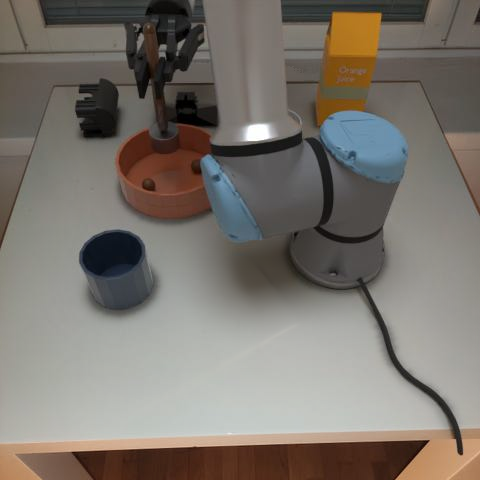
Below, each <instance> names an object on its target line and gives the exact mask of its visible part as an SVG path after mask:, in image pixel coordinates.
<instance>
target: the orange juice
mask: <svg viewBox="0 0 480 480" xmlns="http://www.w3.org/2000/svg"><path fill="white" fill-rule="evenodd" d="M382 14H383V12H382V11H381V12H380V11H379V12H376V11H374V12H373V11H371V12H370V11H332V14H331V17H330V21H329V23H328V27H327V30H326V33H325V38H324V44H323V52H322V59H321V65H320V68H319V69H320V71H319V77H318V84H317V92H316V97H315V104H314V105H315V114H316V115H315V116H316V123H317V125H316V126H317V127H321V126H322V125H323V122H324V121H325V120H327V118H328V117H329V116H330V115H332V114H334V113H337V112H341V111H361V112H365V108H366V107H365V106H366V102H367V100H368V95H369V92H370V87H371V82H372V79H373V74H374V70H375V67H376V62H377V58H378V49H379V40H380V32H381V25H382V24H381V22H382Z"/></svg>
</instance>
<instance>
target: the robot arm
mask: <svg viewBox="0 0 480 480" xmlns="http://www.w3.org/2000/svg"><path fill="white" fill-rule="evenodd" d="M201 1H202V8H203V15H204V16H203V17H204V23H205V25H204V24H203V23H198V24H196V25H195V26H193V24H192V21H193V15H194V11H195V7H196V3H197V0H148V2H147V6H146V9H145V13H144V17H143V18H141V19H140V21H139V24H136V23H133V22H131V21H129V20H126V21H124V22H123V26H124V33H125V38H126V43H125V56H126V61H127V66H128V69H129V70H133V74H134V75H133V76H134V79H135V82H136V83H135V84H136V88H137V93H138V98H139V99H140V100H145V98H146V95H147V91H148V87H149V84H150V81H151V80H150V74H149V68H148V61H147V55H146V48H145V42H144V40H143V41H142V43H141V45H140V47H139V49H138V42H139V40H140V39H139V37H140V36H141V34H142V35H143V27H144V25H145V24H147V23H150V24H152V25H153V26H154V27H155V29H156V36H157V44H158V51H159V49H160V47H161V46H162V45H166V48H165V50H164V53H165V56H159V59H160V60H159V63H158V67H157V71H156V74H155V78H154V88H155V94H156V99H162V95H163V91H164V92H165V86H166V83H172V82H173V79H174V74H175V73H176V71H177V70H179V71H180V72H187V71H188V70H189V68H190V66H191V64H192V61H193V59H194V57H195V55H196V53H197V51H198V49H199V47H200V46H202V45H203V44H204V43H205V42H206V40H205V30H206V37H207V44H208V52H209V60H210V64H211V65H210V67H211V72H212V73H211V74H212V81H213V88H214V94H215V95H214V96H215V101H216V102H215V103H216V105H217V110H218V113H217V118H218V123H217V127H215V128H216V129H215V130H214V131H213V133H211V134H212V136H211V137H210V139H209V140H210V147H211V155H210V154H208V155H206V156H205V157H203V158H202V159H201V161H200V166H201V170H202V177H203V182H204V185H205V189H206V192H207V195H208V198H209V201H210V204H211V207H212V209H211V210H212V213H213V215H214V217H215V220H216V222H217V224H218V227H219V229H220V230H221V232H222V234H223V235H224V236H225V237H226V238H227V239H228V240H229V241H231V242H234V243H243V242H250V241H256V240H257V241H263V240H264V239H266V238H267V239H268V238H272V237H276V236H280V235H285V234H290V233H292V235H291V240H290V244H289V245H290V246H289V255H290V258H291V261H292V264H293V265H294V267H295V268H296V270H297V271H298V272H299V273H300V274H301V275H302V276H303V277H305V278H306V279H307V280H308V281H311V282H312V283H314V284H316V285H318V286H321V287H324V288H329V289H330V288H331V289H335V290H336V289H337V290H345V289H346V290H347V289H354V288H358V287H361V289H362V291H363V293H364V295H365V297H366V299H367V301H368V303H369V306H370V307H371V310H372V311H373V313H374V315H375V316H376V319H377V322H378V323H379V326H380V329H381V331H382V334H383V338H384V341H385V344H386V348H387V352H388V354H389V356H390V358H391V360H392V362H393V364H394V366H395V367H396V368H397V369H398V371H399V372H400V373H401V374H402V375H403V376H404V377H405V378H406V379H407V380H409V381H410V382H411V383H413V384H414V385H416V387H419V388H421V389H422V390H423V391H424V392H426V393H427V394H429V395H430V396H431V397H432V398H433V399H435V400H436V402H437V403H438V404H439V405H440V406H441V408H442V409H443V410H444V412H445V414H446V415H447V417H448V419H449V420H450V423H451V426H452V429H453V432H454V433H453V434H454V437H455V438H454V439H455V442H456V451H457V452H456V453H457V454H458V455H459V456H463V455H464V444H463V438H462V433H461V430H460V426H459V423H458V421H457V418H456V416H455V415H454V413H453V411H452V409H451V408H450V406H449V405H448V403H447V402H446V401H445V400H444V399H443V397H441V396H440V395H439V393H437V392H436V391H435V390H433V389H432V388H431V387H429V386H428V385H426V383H423V382H422V381H420V380H419V379H417V378H416V377H415V376H413V375H412V374H411V373H410V372H409V371H407V369H406V368H405V367H404V366H403V364H401V362H400V361H399V359H398V358H397V355H396V353H395V350H394V347H393V345H392V341H391V338H390V334H389V331H388V328H387V325H386V323H385V320H384V319H383V316H382V314H381V313H380V311H379V308H378V306H377V304H376V303H375V301H374V299H373V296H372V295H371V293H370V291H369V289H368V287H367V285H366V284H367V283H369V282H370V281H372V280H373V279H374V278H375V277H376V276H377V274H378V273H379V271H380V269H381V267H382V265H383V262H384V259H385V254H386V246H385V241H384V226H385V224H386V223H385V222H386V220H387V217H388V215H389V212H390V209H391V206H392V204H393V201H394V199H395V196H396V193H397V191H398V188H399V186H400V183H401V181H402V179H403V178H404V176H405V169H406V165H407V162H408V157H409V144H408V142H407V139H406V138H405V136H404V134H403V133H402V132H401V131H400V130H399V129H398V128H397V126H395V125H394V124H392V123H391V122H389V121H388V120H387V119H384V118H383V117H380V116H378V115H376V114H374V113H369V112H365V111H363V112H361V111H341V112H337V113H334V114H332V115H330V116H329V117H328V118H327V120H325V121H324V122H323V125H322V126H319V134H318V135H314V136H309V137H305V138H303V127H302V126H301V125H300V124H298V123H297V122H296V121H295V120H294V119H293V118H292V117H291V116H290V114H289V113H288V109H289V102H288V101H289V100H288V88H287V87H288V86H287V73H286V71H287V70H286V57H285V43H284V42H285V41H284V29H283V14H282V2H281V1H282V0H201ZM182 41H183V43H182ZM180 42H181V43H182V45H181V46H180V49H179V51H178V47H179V46H178V45H179V43H180ZM177 53H178V54H177Z"/></svg>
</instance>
